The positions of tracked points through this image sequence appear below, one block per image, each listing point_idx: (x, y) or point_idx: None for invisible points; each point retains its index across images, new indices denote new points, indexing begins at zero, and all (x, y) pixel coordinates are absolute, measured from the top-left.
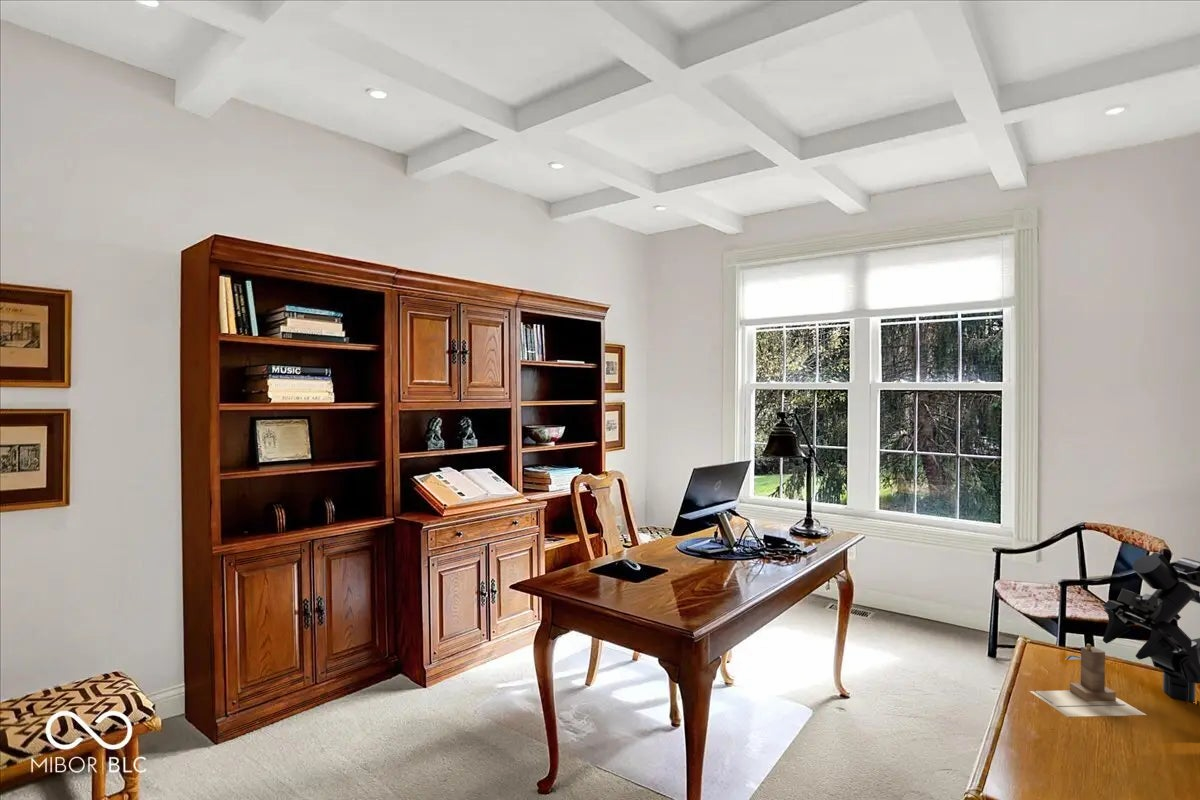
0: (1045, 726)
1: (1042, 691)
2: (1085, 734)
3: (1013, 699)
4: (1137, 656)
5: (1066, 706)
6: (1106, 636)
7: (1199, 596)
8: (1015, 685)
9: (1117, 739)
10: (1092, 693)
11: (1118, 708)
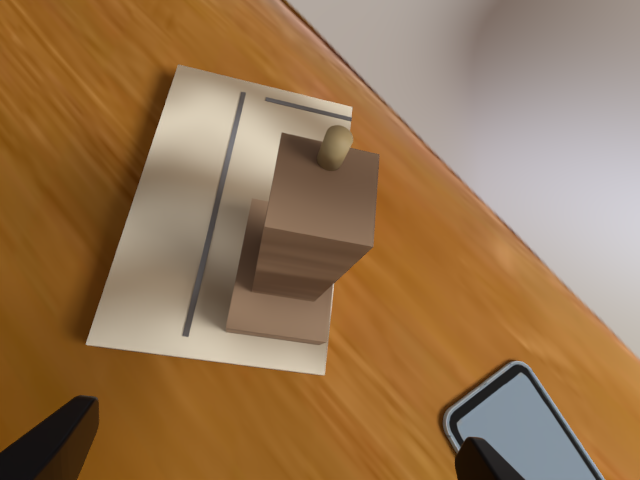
0: (187, 20)
1: None
2: (111, 71)
3: (342, 73)
4: (73, 400)
5: (235, 117)
6: (497, 477)
7: None
8: (423, 148)
9: (47, 126)
10: (247, 223)
11: (170, 279)
